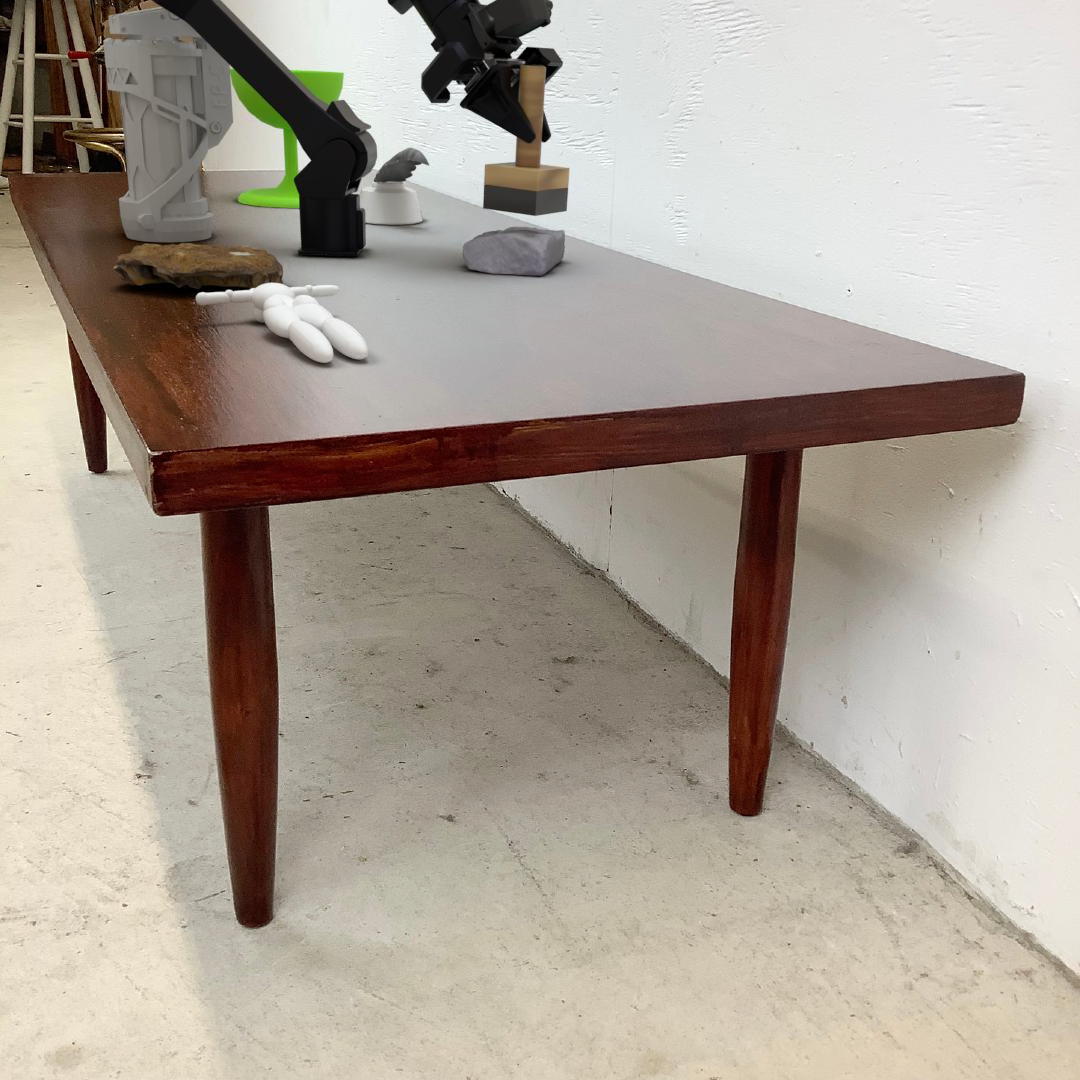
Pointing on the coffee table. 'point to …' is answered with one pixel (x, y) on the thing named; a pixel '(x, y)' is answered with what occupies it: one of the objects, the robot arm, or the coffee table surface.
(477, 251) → the stone block
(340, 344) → the decorative figure
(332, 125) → the robot arm
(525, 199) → the rubber stamp
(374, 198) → the inkwell
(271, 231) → the coffee table surface
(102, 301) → the coffee table surface
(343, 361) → the coffee table surface
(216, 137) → the grey mechanical model
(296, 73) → the wineglass
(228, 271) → the decorative rock
